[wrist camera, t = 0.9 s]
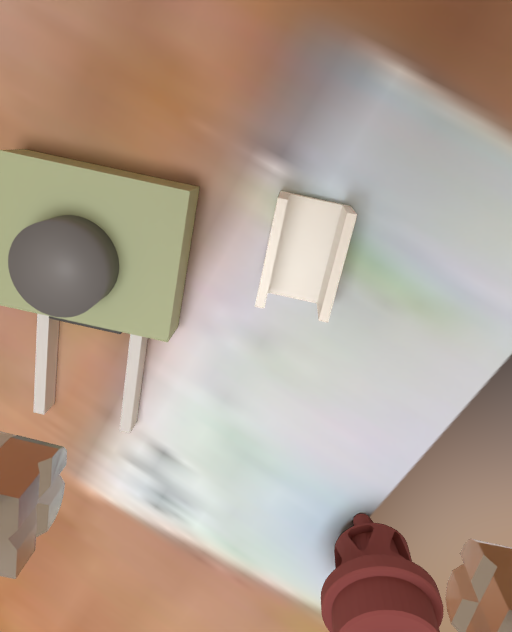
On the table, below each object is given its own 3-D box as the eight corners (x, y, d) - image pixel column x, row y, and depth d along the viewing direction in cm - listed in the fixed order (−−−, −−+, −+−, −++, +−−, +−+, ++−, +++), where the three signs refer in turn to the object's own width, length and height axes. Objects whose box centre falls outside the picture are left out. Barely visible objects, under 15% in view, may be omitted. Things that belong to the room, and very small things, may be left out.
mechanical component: (442, 534, 47) (373, 591, 50) (363, 479, 46) (297, 541, 49) (488, 663, 35) (395, 726, 39) (385, 594, 34) (297, 665, 37)
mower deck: (10, 146, 38) (-45, 146, 32) (199, 186, 38) (180, 195, 32) (6, 392, 46) (-39, 431, 40) (162, 427, 46) (141, 471, 39)
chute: (280, 190, 37) (277, 197, 33) (350, 205, 37) (357, 214, 33) (260, 287, 40) (254, 306, 35) (324, 301, 40) (327, 322, 35)
